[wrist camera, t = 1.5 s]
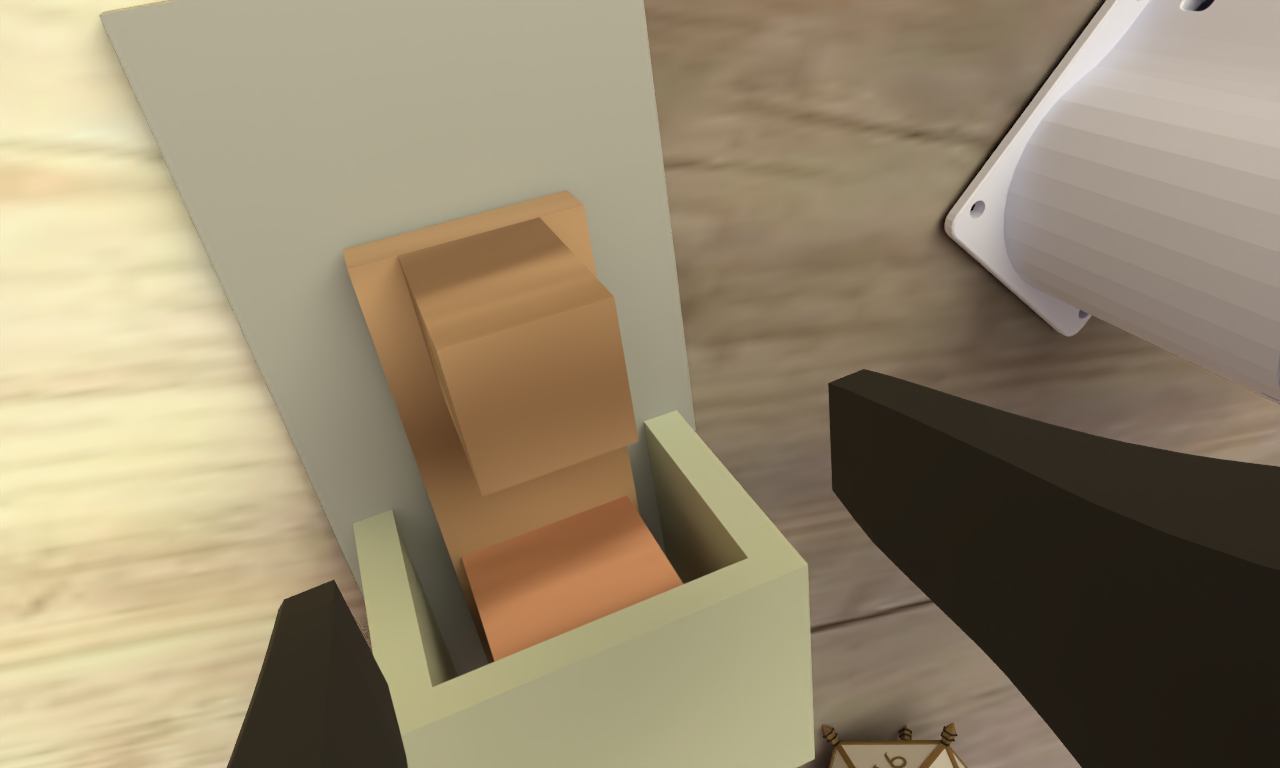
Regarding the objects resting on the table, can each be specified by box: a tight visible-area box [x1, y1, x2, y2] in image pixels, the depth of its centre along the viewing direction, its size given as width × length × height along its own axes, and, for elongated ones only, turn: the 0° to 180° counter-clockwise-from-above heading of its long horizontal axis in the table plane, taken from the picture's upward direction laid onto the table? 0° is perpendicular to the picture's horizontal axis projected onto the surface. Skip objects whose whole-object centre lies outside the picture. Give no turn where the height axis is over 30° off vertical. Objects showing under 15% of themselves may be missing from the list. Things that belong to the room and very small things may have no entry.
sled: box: [343, 190, 683, 664], centre depth 21 cm, size 21×5×6 cm, turn 8°
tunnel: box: [353, 410, 815, 768], centre depth 21 cm, size 7×9×7 cm
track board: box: [99, 0, 696, 677], centre depth 24 cm, size 31×10×1 cm, turn 8°
